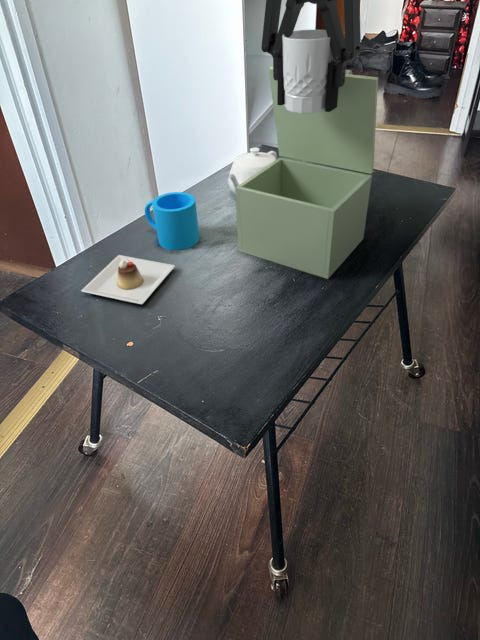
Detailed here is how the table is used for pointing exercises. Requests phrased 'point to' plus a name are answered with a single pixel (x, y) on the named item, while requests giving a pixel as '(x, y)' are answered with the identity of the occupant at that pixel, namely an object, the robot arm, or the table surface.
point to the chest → (302, 215)
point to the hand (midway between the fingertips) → (306, 105)
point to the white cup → (306, 70)
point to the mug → (174, 220)
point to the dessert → (129, 279)
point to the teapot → (249, 166)
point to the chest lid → (332, 127)
